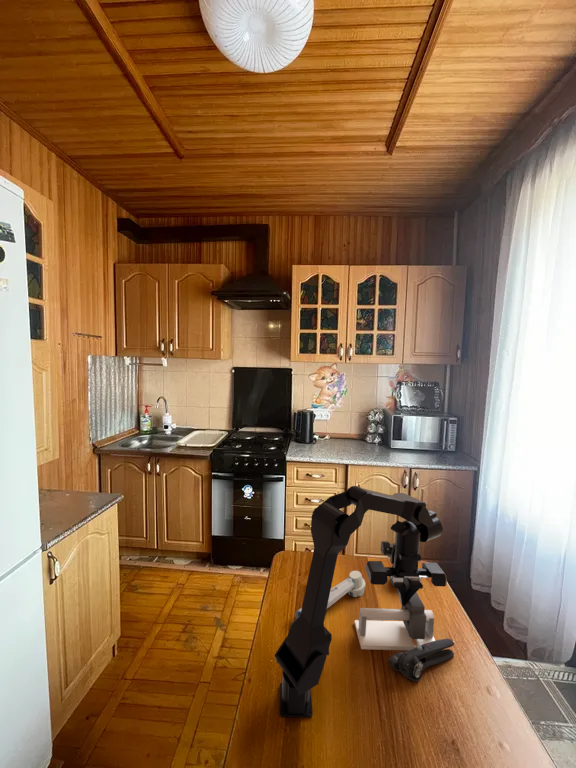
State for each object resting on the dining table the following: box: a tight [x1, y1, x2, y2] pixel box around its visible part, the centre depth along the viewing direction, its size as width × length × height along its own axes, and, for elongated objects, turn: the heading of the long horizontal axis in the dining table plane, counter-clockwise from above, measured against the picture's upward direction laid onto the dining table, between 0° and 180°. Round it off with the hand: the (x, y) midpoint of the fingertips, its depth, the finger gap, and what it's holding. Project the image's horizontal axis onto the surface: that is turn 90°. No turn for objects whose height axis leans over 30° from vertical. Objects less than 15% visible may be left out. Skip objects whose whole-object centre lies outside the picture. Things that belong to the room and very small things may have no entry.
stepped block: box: [400, 591, 426, 639], centre depth 87 cm, size 8×3×8 cm, turn 1°
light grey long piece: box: [294, 570, 367, 620], centre depth 98 cm, size 5×7×25 cm
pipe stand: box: [354, 607, 437, 651], centre depth 87 cm, size 8×19×7 cm, turn 91°
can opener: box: [388, 638, 455, 682], centre depth 80 cm, size 18×7×6 cm, turn 113°
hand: (402, 604), depth 87 cm, fingers closed
